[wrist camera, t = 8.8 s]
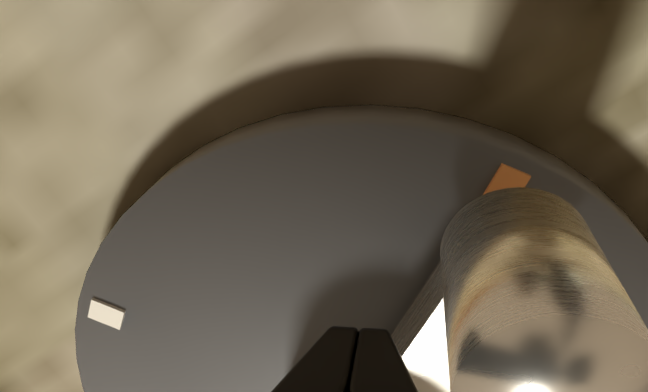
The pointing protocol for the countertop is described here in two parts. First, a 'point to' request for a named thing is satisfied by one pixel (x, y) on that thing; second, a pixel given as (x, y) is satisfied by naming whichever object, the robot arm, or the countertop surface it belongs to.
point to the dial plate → (303, 243)
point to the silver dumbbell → (522, 305)
